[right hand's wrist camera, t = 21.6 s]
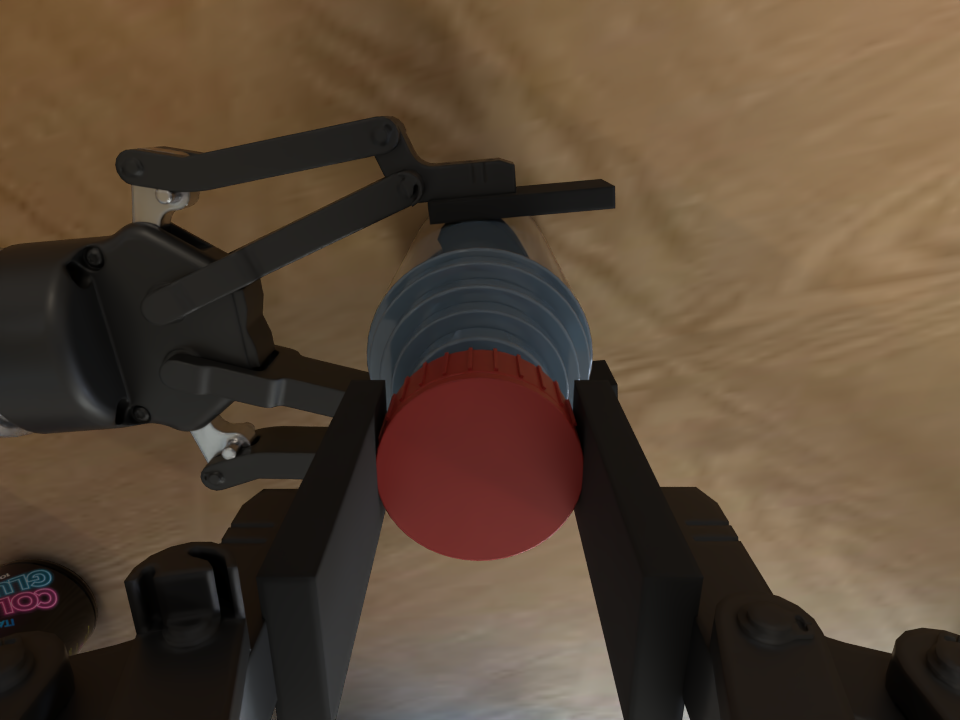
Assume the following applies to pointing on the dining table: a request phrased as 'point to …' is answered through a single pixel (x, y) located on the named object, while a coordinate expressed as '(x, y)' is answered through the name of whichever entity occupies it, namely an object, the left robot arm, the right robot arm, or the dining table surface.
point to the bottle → (480, 303)
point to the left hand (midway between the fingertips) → (608, 291)
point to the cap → (479, 456)
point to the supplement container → (46, 602)
